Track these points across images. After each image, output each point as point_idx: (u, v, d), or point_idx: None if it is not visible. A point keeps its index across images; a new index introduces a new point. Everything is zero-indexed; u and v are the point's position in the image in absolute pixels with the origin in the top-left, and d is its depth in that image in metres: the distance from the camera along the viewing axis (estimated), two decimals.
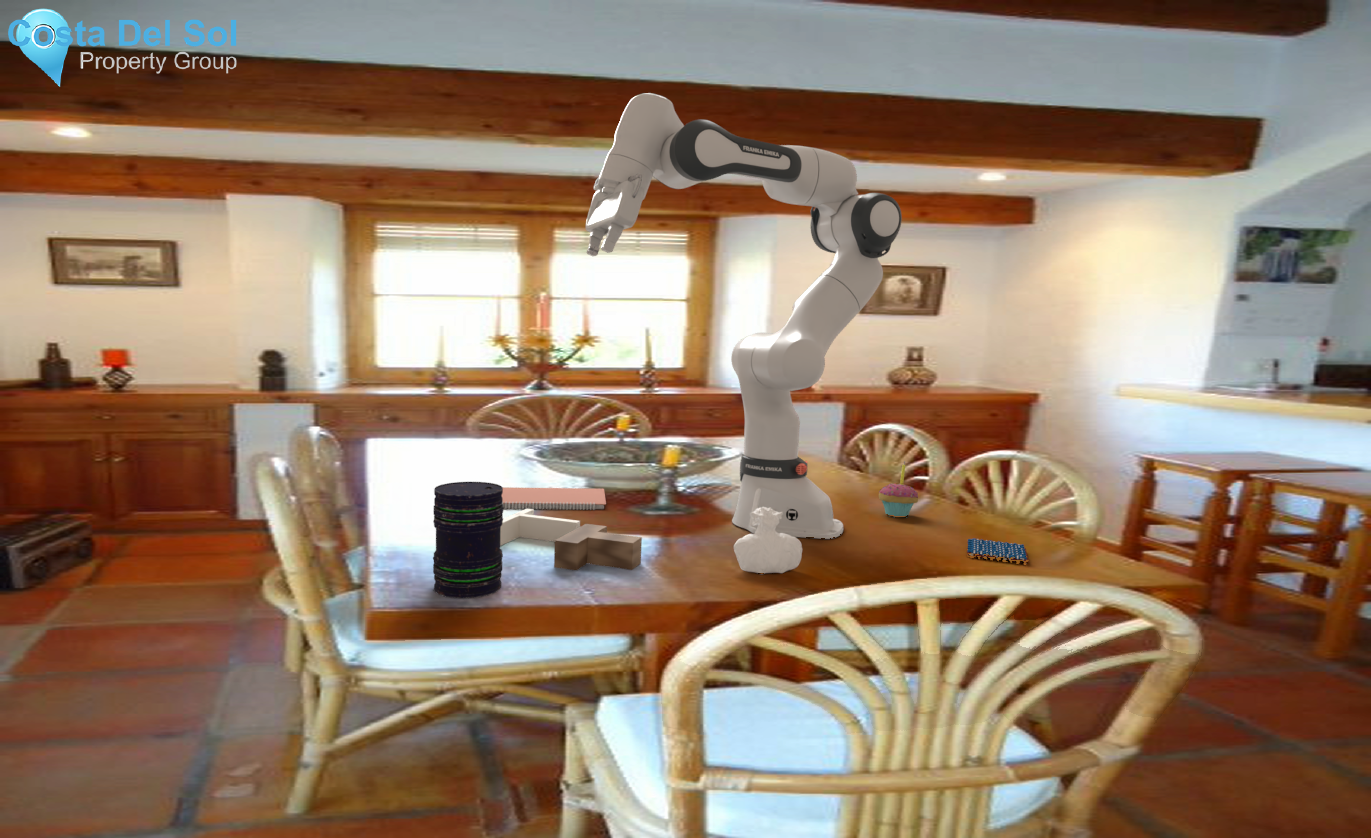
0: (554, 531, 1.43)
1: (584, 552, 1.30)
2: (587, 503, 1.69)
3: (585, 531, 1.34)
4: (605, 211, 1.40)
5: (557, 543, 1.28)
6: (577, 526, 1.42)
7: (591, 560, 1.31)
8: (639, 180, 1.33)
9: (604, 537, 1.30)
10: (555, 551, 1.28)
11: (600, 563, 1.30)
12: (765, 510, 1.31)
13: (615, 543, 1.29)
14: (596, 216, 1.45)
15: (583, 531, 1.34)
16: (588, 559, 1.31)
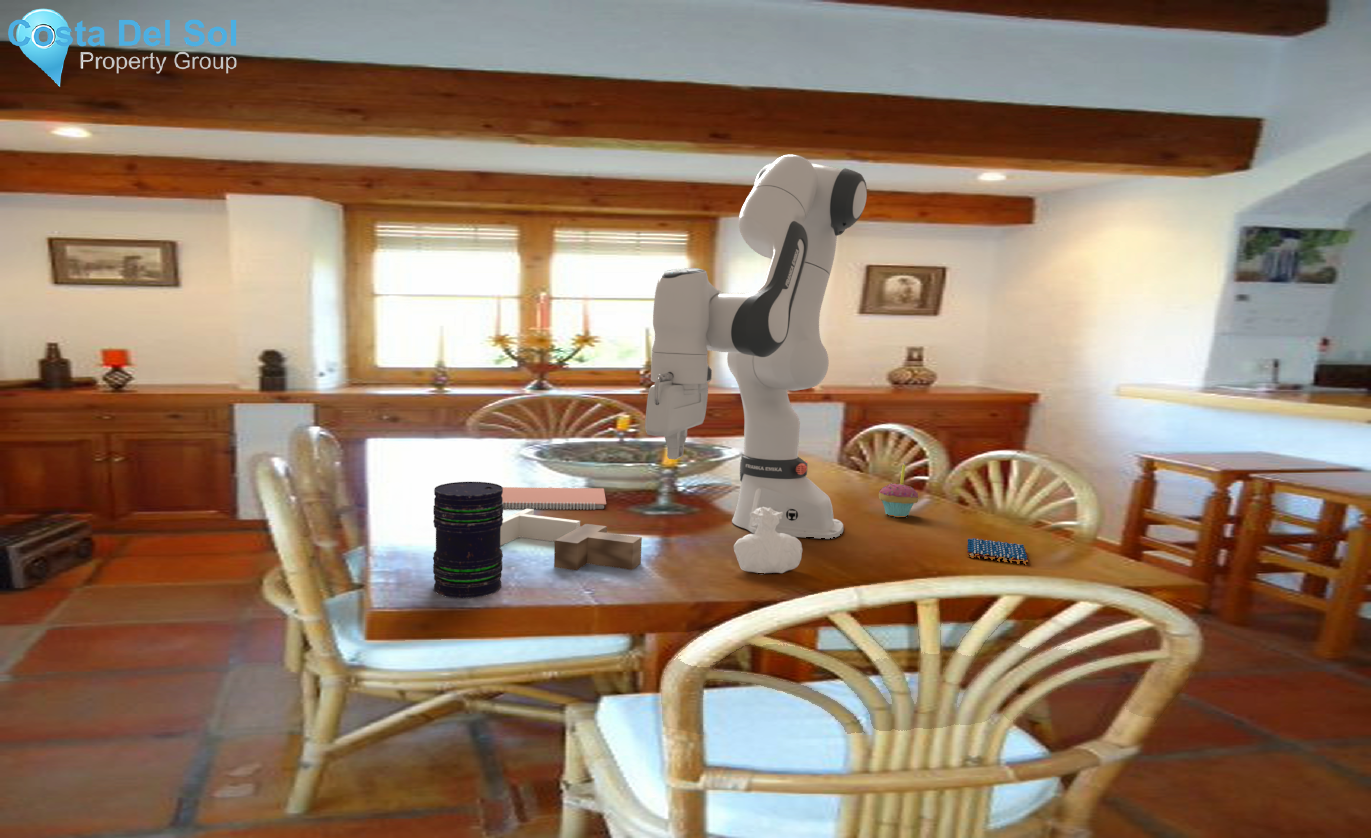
0: (554, 531, 1.43)
1: (584, 552, 1.30)
2: (587, 503, 1.69)
3: (585, 531, 1.34)
4: None
5: (557, 543, 1.28)
6: (577, 526, 1.42)
7: (591, 560, 1.31)
8: (655, 385, 1.15)
9: (604, 537, 1.30)
10: (555, 551, 1.28)
11: (600, 563, 1.30)
12: (765, 510, 1.31)
13: (615, 543, 1.29)
14: None
15: (583, 531, 1.34)
16: (588, 559, 1.31)
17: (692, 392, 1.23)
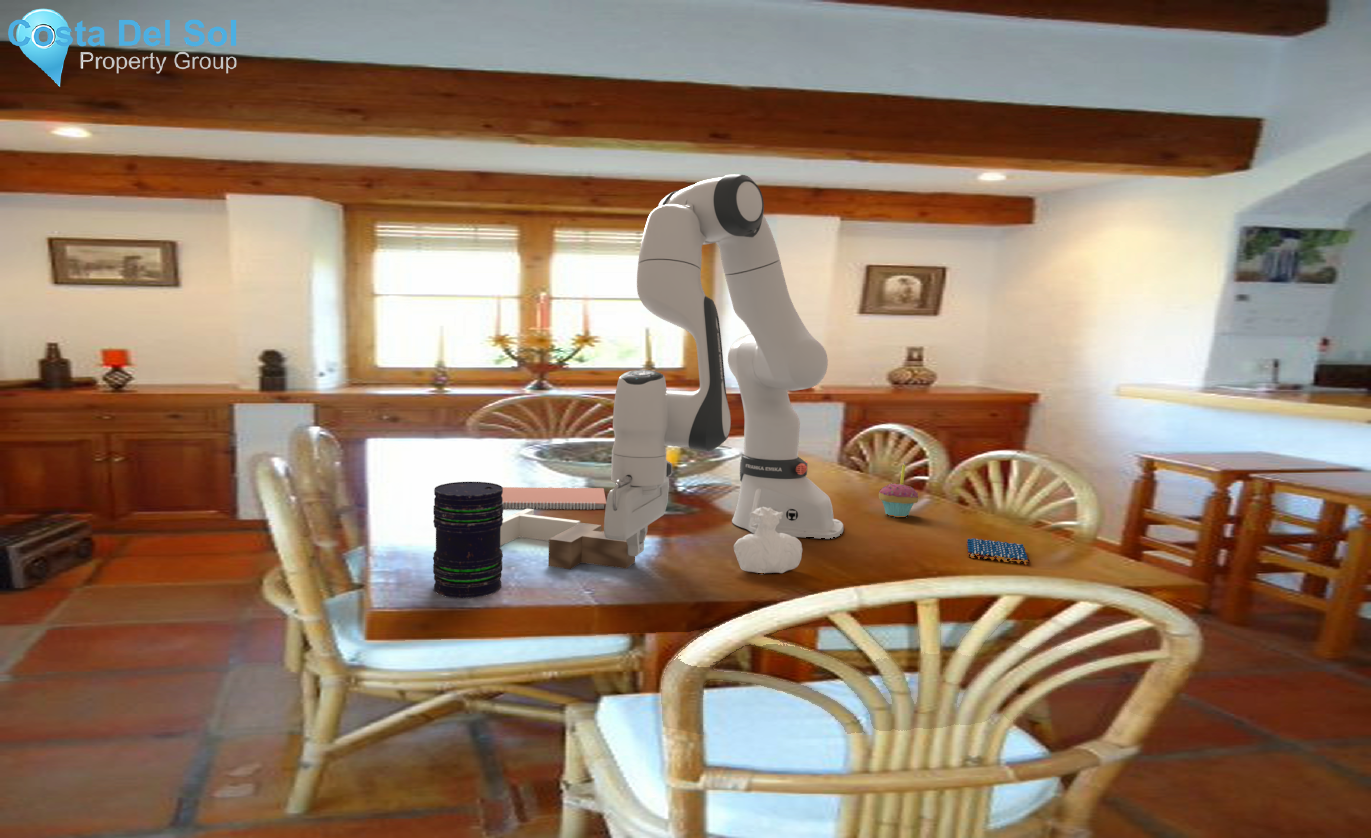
0: (554, 531, 1.43)
1: (578, 551, 1.30)
2: (587, 503, 1.69)
3: (579, 530, 1.34)
4: None
5: (552, 542, 1.28)
6: None
7: (585, 559, 1.31)
8: (613, 492, 1.19)
9: (598, 536, 1.31)
10: (549, 550, 1.28)
11: (594, 562, 1.31)
12: (765, 510, 1.31)
13: (609, 542, 1.29)
14: None
15: (577, 530, 1.34)
16: (582, 558, 1.31)
17: (650, 492, 1.27)
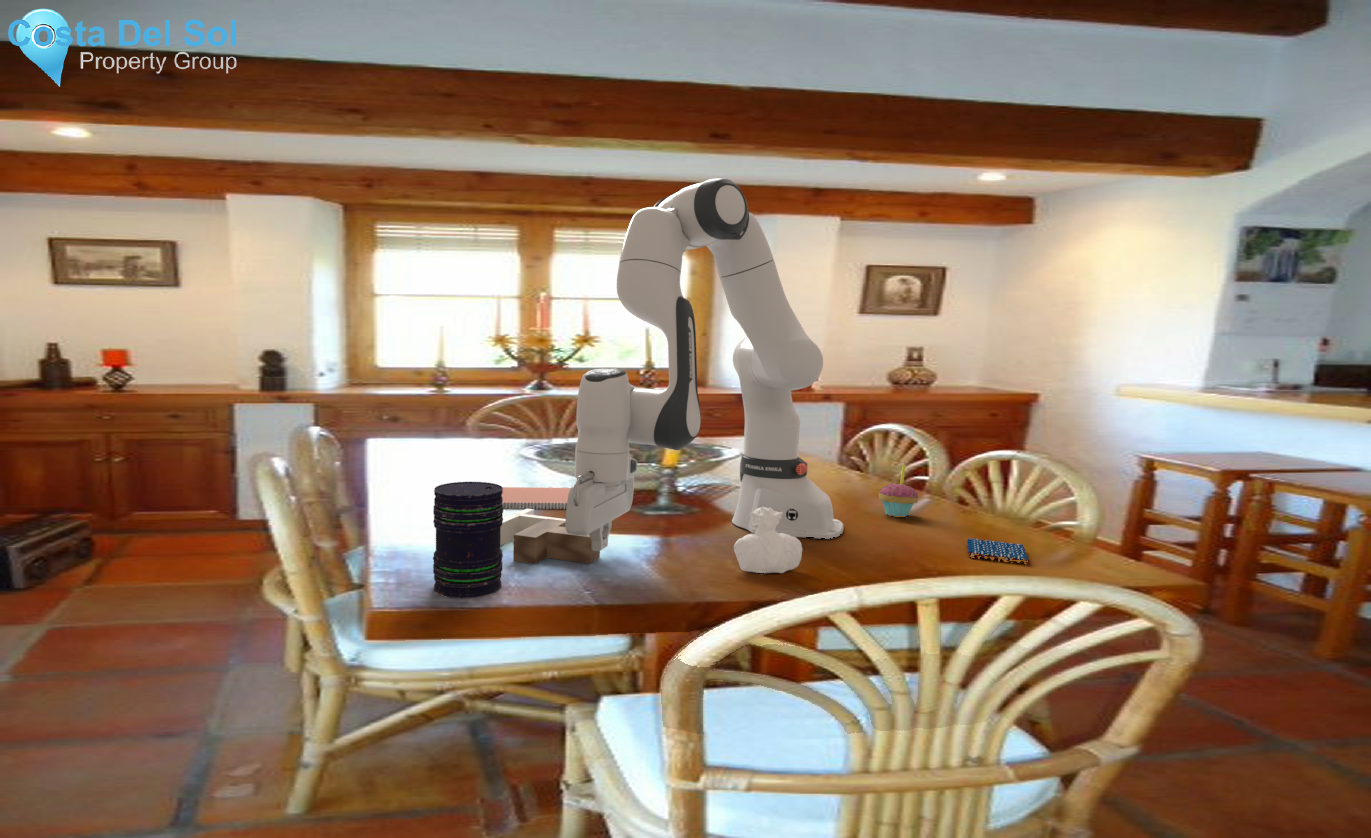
0: None
1: (543, 546, 1.32)
2: None
3: (545, 526, 1.36)
4: None
5: (516, 537, 1.30)
6: None
7: (550, 554, 1.33)
8: (574, 488, 1.21)
9: (563, 532, 1.33)
10: (514, 545, 1.30)
11: (559, 557, 1.32)
12: (765, 510, 1.31)
13: (574, 537, 1.31)
14: None
15: (543, 526, 1.36)
16: (547, 553, 1.33)
17: (613, 488, 1.29)
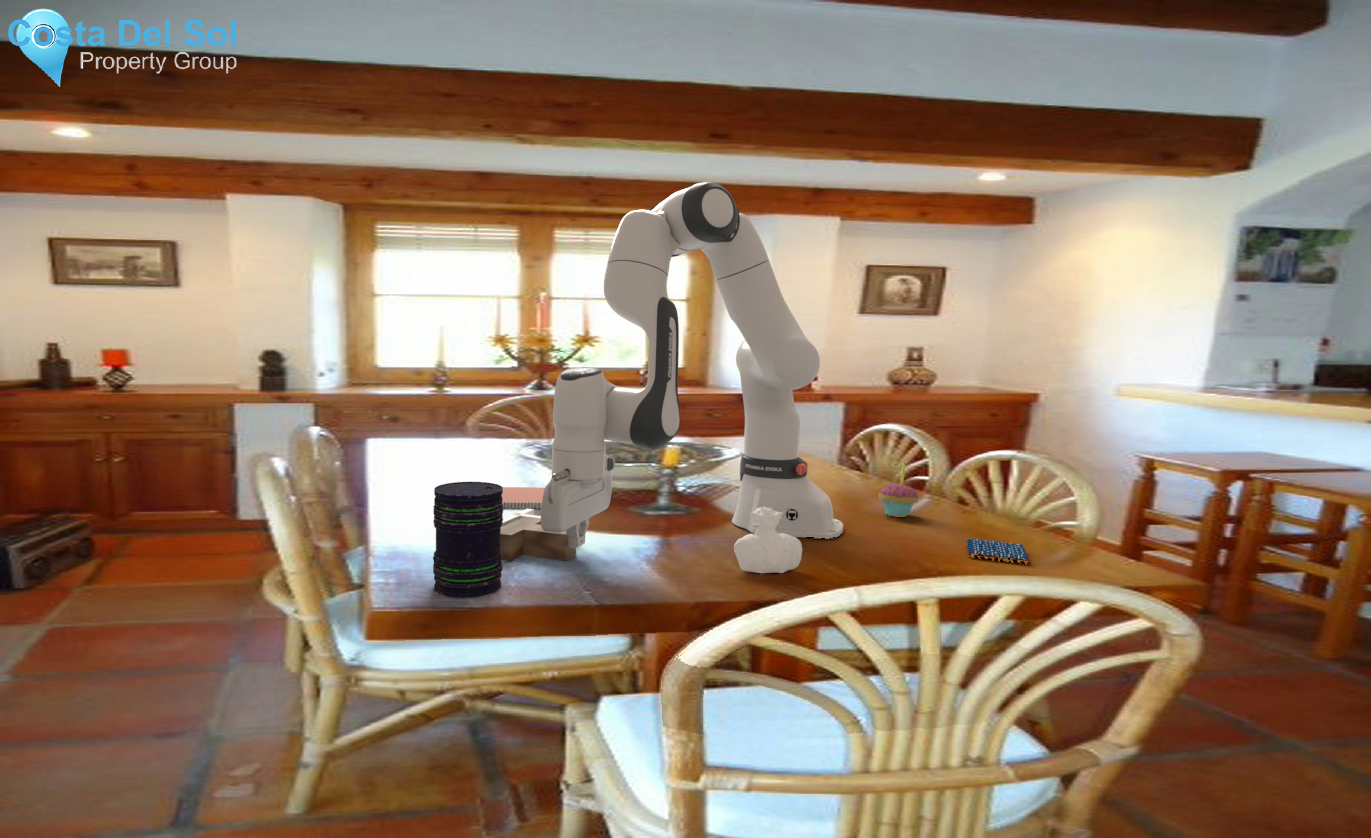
0: None
1: (519, 544, 1.33)
2: None
3: (522, 524, 1.37)
4: None
5: None
6: None
7: (527, 552, 1.34)
8: (549, 485, 1.22)
9: (539, 529, 1.34)
10: None
11: (535, 554, 1.33)
12: (765, 510, 1.31)
13: (549, 535, 1.32)
14: None
15: (520, 524, 1.37)
16: (524, 551, 1.34)
17: (589, 486, 1.30)
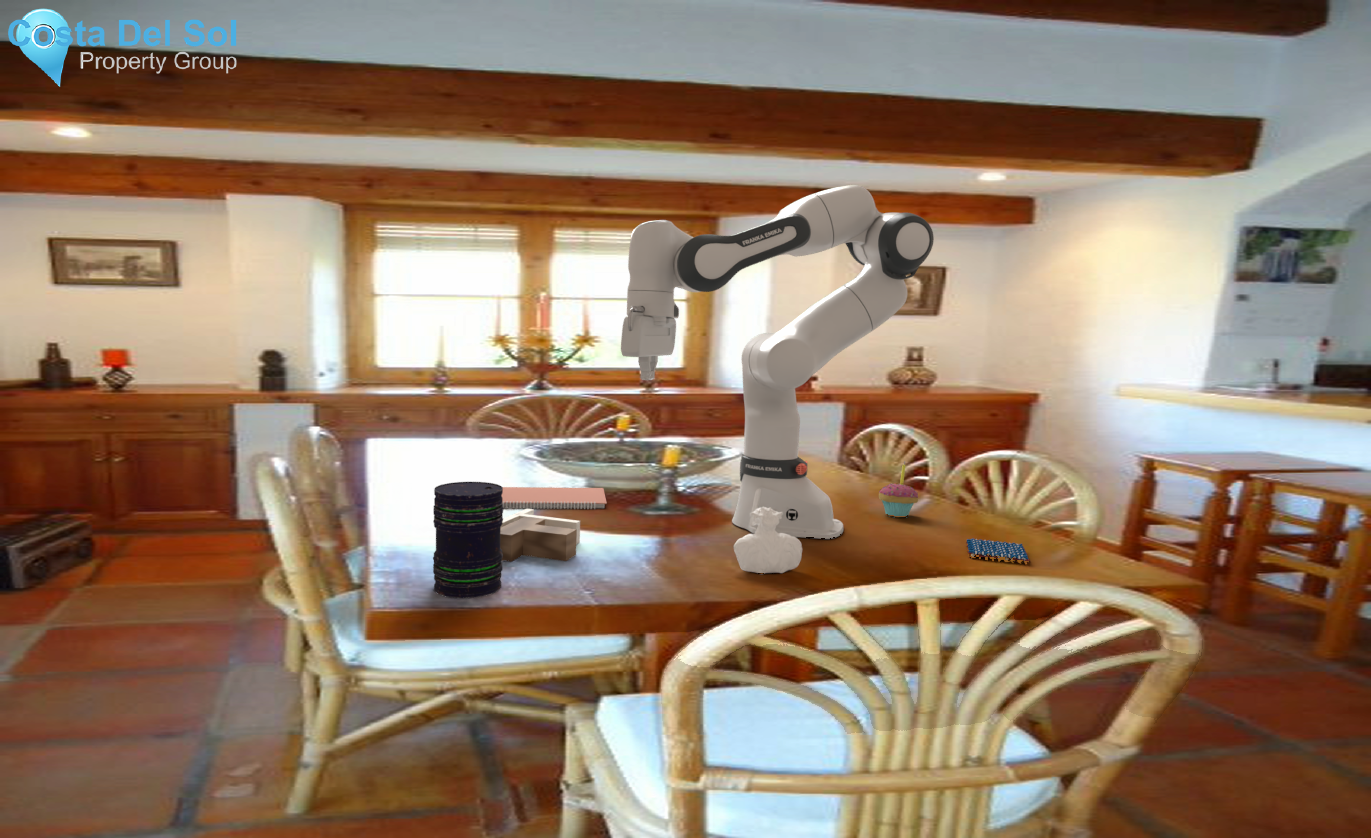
0: None
1: (519, 544, 1.33)
2: (588, 502, 1.69)
3: (522, 524, 1.37)
4: None
5: None
6: (577, 526, 1.42)
7: (527, 552, 1.34)
8: (629, 314, 1.41)
9: (539, 530, 1.34)
10: None
11: (535, 555, 1.33)
12: (765, 510, 1.31)
13: (550, 535, 1.32)
14: None
15: (520, 524, 1.37)
16: (524, 551, 1.34)
17: (660, 323, 1.49)
